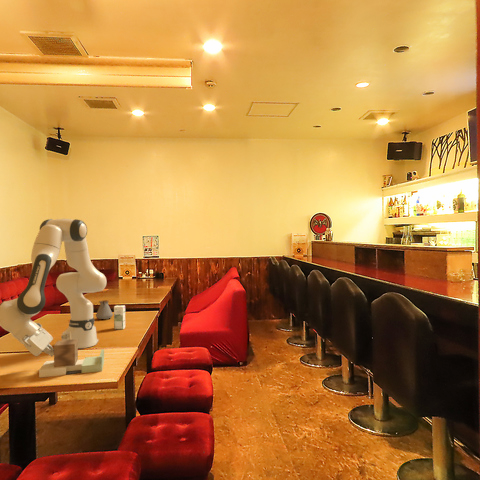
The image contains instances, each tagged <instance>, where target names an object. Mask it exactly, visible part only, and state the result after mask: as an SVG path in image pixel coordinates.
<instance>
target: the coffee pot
mask: <svg viewBox="0 0 480 480" xmlns="http://www.w3.org/2000/svg"><path fill="white" fill-rule="evenodd" d="M109 302H110V300H106V299H105V300H99V301H98V303H99V307H98V309H97V312H96V314H95V317H96V319H98V320H99V319H107V320H110V319H111V318H112V317H113V316H114V313H113V311H112V310H111V308H110V306H109ZM109 318H110V319H109Z"/></svg>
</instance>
